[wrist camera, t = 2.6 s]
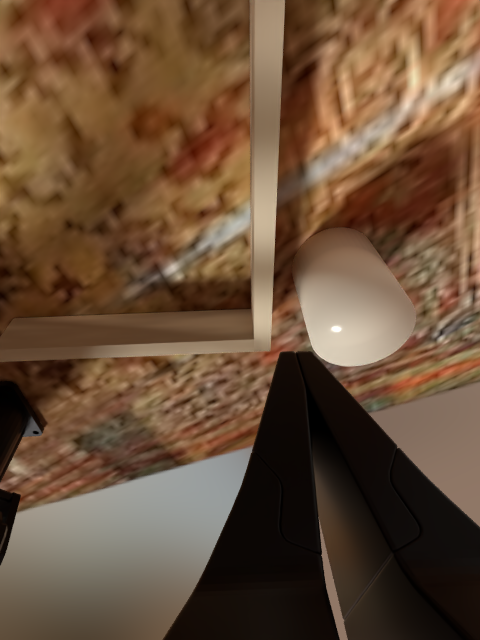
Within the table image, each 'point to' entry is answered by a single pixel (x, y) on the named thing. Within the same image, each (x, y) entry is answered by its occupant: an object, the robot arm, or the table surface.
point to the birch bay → (191, 326)
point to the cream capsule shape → (350, 298)
